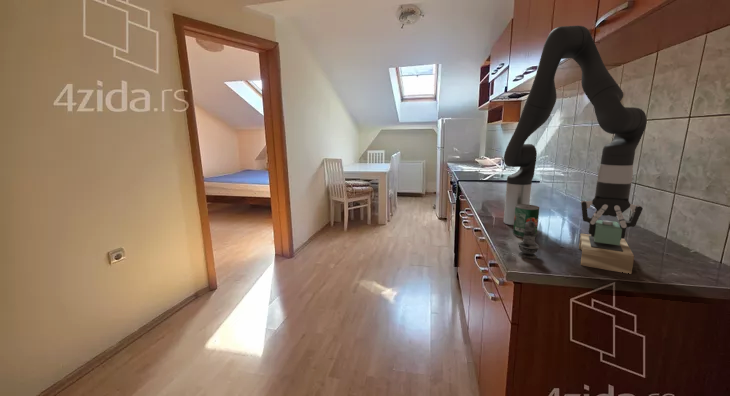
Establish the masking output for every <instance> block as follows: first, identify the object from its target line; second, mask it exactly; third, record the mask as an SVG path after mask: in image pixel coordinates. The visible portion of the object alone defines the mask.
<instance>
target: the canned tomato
mask: <svg viewBox="0 0 730 396" xmlns="http://www.w3.org/2000/svg"><path fill="white" fill-rule="evenodd" d="M539 214H540V206H538V205H533V204H530V205H527V204H518V205H516V206H515V218H514V225H513V230H512V234H513V235H514V236H515V237H519V238H523V239H524V233H523V232H524V231H525V223H526V222H528V221H530V219H532V221H533V222H534V223H535V224H536V228H535V233H536V235H535V238H537V235H538V226H539V225H538V224H539V217H540V216H539Z"/></svg>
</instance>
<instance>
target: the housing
mask: <svg viewBox="0 0 730 396" xmlns="http://www.w3.org/2000/svg"><path fill="white" fill-rule="evenodd" d="M595 224H596V227H595V234H594V241H595V242H599V243H606V244H613V245H620V240H621V239H622V238H621V234H622V229H621V227H620V223H619V221H614V220H613V221H611V220H603V219H602V220H601V219H598V220H597V221H596V223H595Z"/></svg>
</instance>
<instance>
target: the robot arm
mask: <svg viewBox="0 0 730 396" xmlns="http://www.w3.org/2000/svg"><path fill="white" fill-rule="evenodd" d="M564 59H572V60H573V61H574V62H575V63H576V64H578V66H579V67H580V70H581V83H580V84H581V87H582V91H583V92H584V94H585V96H586V97H587V99H588V101H590V103H591V105H592V106H593V108H594V113H595V118H596V119H597V120H596V121H597V123H598V125H599V127H600V128H601V129H602V131H604V132H605V133H607V134H610V135H614V136H613V139H612V141H611V142H609V143H607V144H605V145H604V146H603V149H602V152H601V157H600V165H599V169H598V173H597V178H596V185H595V193H594V197H593V199H592V200H581V201H580V204H581V215H582V221H583V222H586V223H587V224H588V223H589V226H588V234H589V235H591V236H592V237H594V234H595V227H596V224H595V223H596V221H597V220H600V218H601V217H602V216H605V217H606V216H610V217H616V218H617V220H618V221H617V222H618V224H619V225H620V227H621V229H622V234H621V239H625V237H626V232H627V231H626V230H627V228H630V227H632V228H633V227H636V226H637V222H638V221H639V219H640V216H641V214H642V212H643V207H642V206H641V205H640V204H632V203H630V201H629V200H630V195H631V187H632V182H633V176H634V175H633V174H634V169H633V168H634V162H635V154H636V149H637V147H638V145H639V143H640V142H641V139H642V137H643V134H644V132H645V130H646V127H647V121H648V120H647V115H646V112H645V111H644V110H643V109H641V108H639V107H632V106H631V107H626V106H624V105H623V104H622V102H621V101H622V100H623V98H624V92H623V90H622V88H621V86H620V85H619V84H618V83H617V82H616V80H615V79H614V77H613V76H612V75H611V73H610V72H609V71H608V69H607V67H606V65H605V64H604V61H603V59H602V56H601V54H600V53H599V50H598V48H597V45H596V43H595V40H594V38H593V36H592V34H591V32H590V30H589V29H588V28H587V27H585V26H583V25H565V26H557V27H555V28H554V29H552V30H551V31H550V32H549V34H548V36H547V37H546V40H545V42H544V45H543V48H542V51H541V56H540V58H539V62H538V66H537V70H536V73H535V76H534V79H533V82H532V85H531V87H530V88H531V89H530V91H529V92H528V96H527V98H526V101H525V103H524V105H523V108H522V111H521V115H520V118H519V120H518V123H517V125H516V127H515V130H514V132H513V133H512V136H511V137H510V140H509V142H508V144H507V146H506V149H505V151H504V155H503V162H504V164H505V165H506V167H509V168H519V169H518V170H517V171H515V173H512V174H509V175H508V176H507V177H506V187H505V188H506V191H505V201H504V213H503V223H504V224H506V225H509V226H514V218H515V206H516V205H518V204H527V205H531V203H530V202H531V195H532V193H531V192H532V183H533V179H534V176H535V169H536V164H537V159H538V158H537V156H538V154H537V153H538V151H537V148H536V146H535V145H534V144H530V143H526V141H527V140H528V139H529V137H531V136H532V134H533V133H534V132H536V131H537V130H538V129H539V128H541V127H542V126H543V125H544V124H545V123H546V122H547V121H548V119H549V118H550V116H551V114H552V112H553V110H554V108H555V105H556V103H557V97H558V96H557V90H556V89H557V88H556V83H555V76H556V73H557V70H558V68H559V64H561V61H562V60H564ZM591 206H594V207H593V208H594V209H595V211H594V213H593V215H592V216H591V217H589V215H588V209H590V208H591ZM628 209H630V212H631V216H630V218H629V219H628V220H627V221H626V220H625V217H624V214H623V213H624V212H625V211H627V210H628Z"/></svg>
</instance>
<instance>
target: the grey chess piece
mask: <svg viewBox="0 0 730 396" xmlns="http://www.w3.org/2000/svg"><path fill="white" fill-rule="evenodd" d="M535 228H536V224H535V223H534V222H533V221H532V219H530V221H528V222H526V223H525V231H524V232H523V233H524V238H523V239H522V241H520V242H519V241H518V242H517V245H518V249H519V251H520V252H518V253H517V255H518V257H520V258H523V259H527V260H535V259H537V258H538V256H537V254H536V253H537V251H538V250H539V248H540V245H539V244H537V243H536V240H535V239H536V237H535V235H536V233H535Z"/></svg>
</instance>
